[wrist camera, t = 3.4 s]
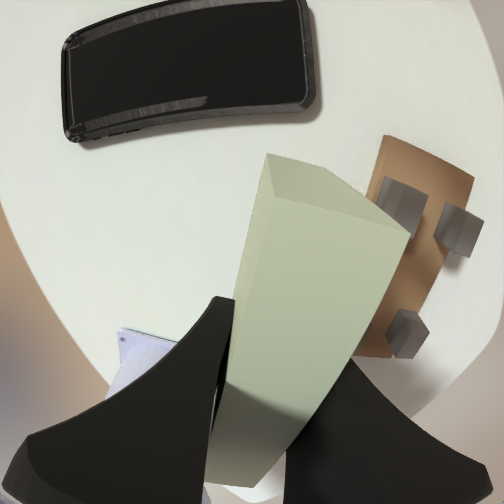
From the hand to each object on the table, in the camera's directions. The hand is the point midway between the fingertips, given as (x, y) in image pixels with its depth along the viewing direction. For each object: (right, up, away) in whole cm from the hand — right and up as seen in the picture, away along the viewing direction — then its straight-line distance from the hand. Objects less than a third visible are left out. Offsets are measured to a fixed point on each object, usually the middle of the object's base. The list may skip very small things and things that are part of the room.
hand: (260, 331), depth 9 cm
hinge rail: (+9, +2, +9) cm, 13 cm away
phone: (-5, +13, +4) cm, 15 cm away
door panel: (0, +1, +2) cm, 2 cm away
